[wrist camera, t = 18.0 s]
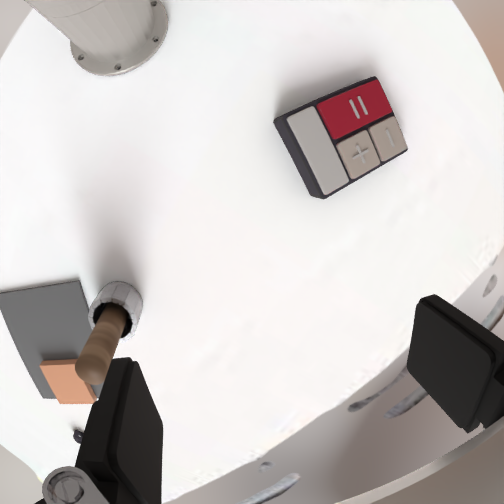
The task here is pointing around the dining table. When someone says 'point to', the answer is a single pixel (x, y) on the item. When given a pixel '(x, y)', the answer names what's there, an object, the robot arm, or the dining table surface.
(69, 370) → the tile
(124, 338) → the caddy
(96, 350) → the rod
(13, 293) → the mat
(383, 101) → the calculator
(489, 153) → the dining table surface
